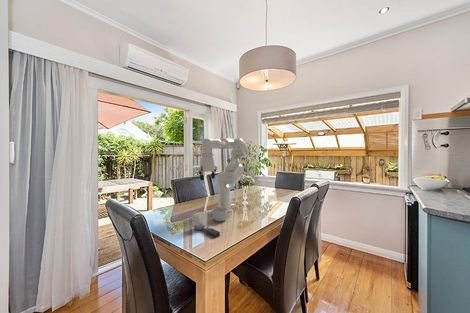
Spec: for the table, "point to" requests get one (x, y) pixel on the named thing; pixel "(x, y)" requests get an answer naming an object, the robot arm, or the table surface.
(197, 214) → the wood-topped grey cube
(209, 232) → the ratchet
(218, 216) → the teacup
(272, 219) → the table surface
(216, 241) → the table surface
